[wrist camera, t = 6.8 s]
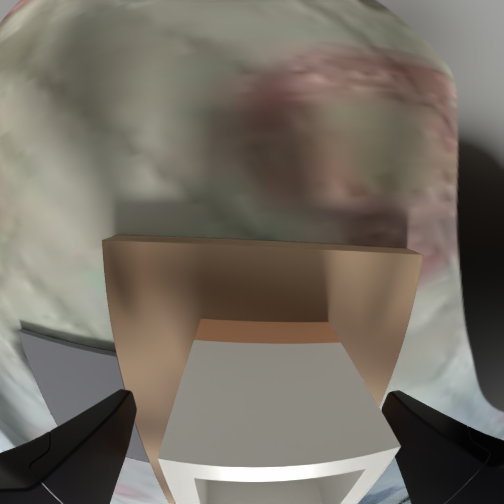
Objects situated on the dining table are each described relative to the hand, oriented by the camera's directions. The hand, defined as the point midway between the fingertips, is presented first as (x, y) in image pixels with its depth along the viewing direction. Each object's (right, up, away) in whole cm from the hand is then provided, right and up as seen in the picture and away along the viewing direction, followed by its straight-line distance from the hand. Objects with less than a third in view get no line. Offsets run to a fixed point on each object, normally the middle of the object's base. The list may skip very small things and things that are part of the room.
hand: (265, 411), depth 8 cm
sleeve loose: (0, 0, +2) cm, 2 cm away
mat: (-10, -4, +4) cm, 12 cm away
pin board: (0, -4, +4) cm, 6 cm away
